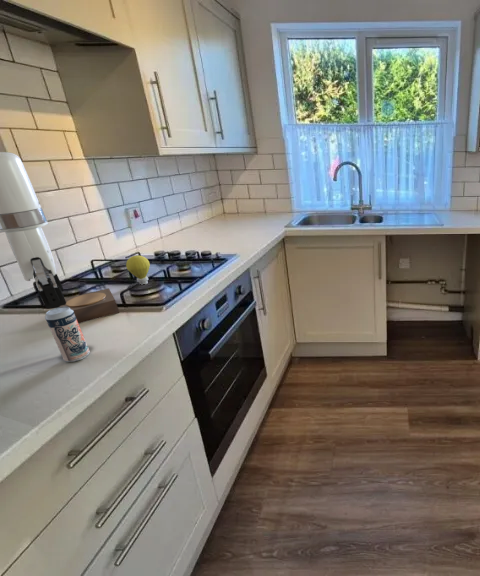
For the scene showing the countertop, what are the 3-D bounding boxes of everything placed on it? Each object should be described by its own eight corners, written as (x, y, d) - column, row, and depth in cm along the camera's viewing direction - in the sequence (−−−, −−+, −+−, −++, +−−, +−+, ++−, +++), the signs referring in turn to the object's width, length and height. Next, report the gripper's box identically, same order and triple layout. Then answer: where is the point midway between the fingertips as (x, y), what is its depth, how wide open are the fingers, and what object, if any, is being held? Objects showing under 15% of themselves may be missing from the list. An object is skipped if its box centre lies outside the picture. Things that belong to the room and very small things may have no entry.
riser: (66, 326, 96) (60, 312, 95) (63, 312, 105) (57, 299, 103) (119, 312, 104) (114, 298, 102) (113, 300, 112) (108, 287, 110)
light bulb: (159, 280, 127) (151, 253, 123) (144, 287, 121) (135, 259, 117) (143, 279, 128) (135, 252, 124) (127, 286, 122) (118, 258, 118)
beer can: (73, 365, 80) (52, 316, 75) (59, 361, 81) (37, 314, 76) (95, 353, 84) (77, 307, 79) (81, 350, 85) (62, 304, 81)
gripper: (-4, 217, 74) (32, 293, 81) (-11, 231, 62) (32, 318, 69) (44, 211, 78) (74, 283, 85) (46, 223, 66) (81, 306, 73)
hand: (55, 299), depth 77 cm, fingers open, 9 cm apart
